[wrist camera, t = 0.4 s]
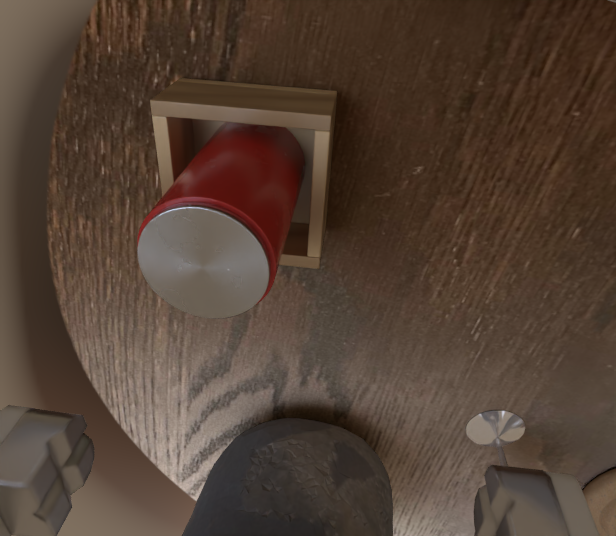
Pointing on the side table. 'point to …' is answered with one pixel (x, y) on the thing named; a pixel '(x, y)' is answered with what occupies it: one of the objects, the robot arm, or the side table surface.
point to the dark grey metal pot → (295, 485)
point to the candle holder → (603, 502)
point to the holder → (260, 111)
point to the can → (224, 222)
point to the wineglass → (495, 431)
